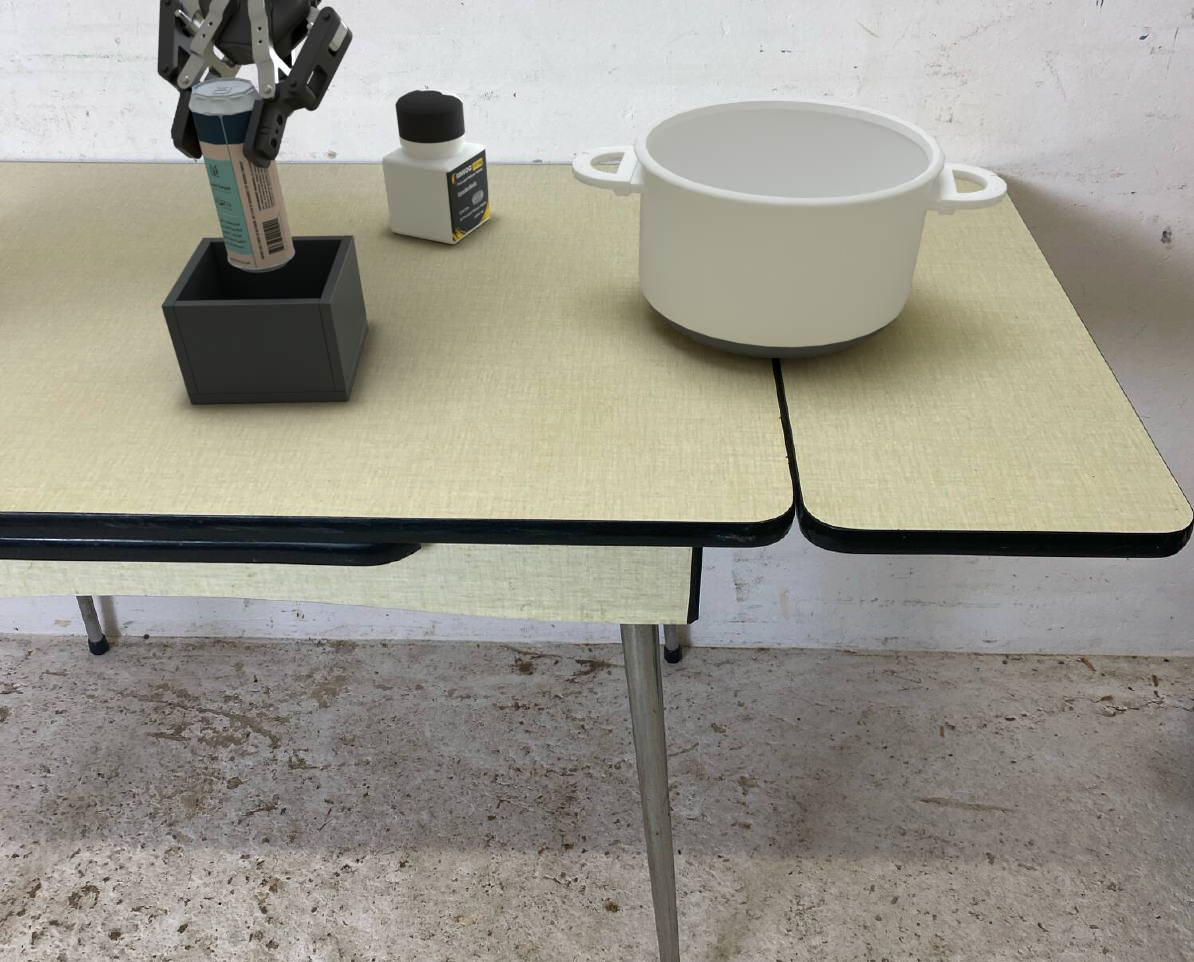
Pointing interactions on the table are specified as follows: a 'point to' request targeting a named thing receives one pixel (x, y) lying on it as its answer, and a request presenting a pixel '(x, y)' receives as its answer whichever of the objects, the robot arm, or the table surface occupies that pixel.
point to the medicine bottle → (435, 170)
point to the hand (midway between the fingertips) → (220, 156)
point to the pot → (783, 218)
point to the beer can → (240, 177)
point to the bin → (269, 324)
